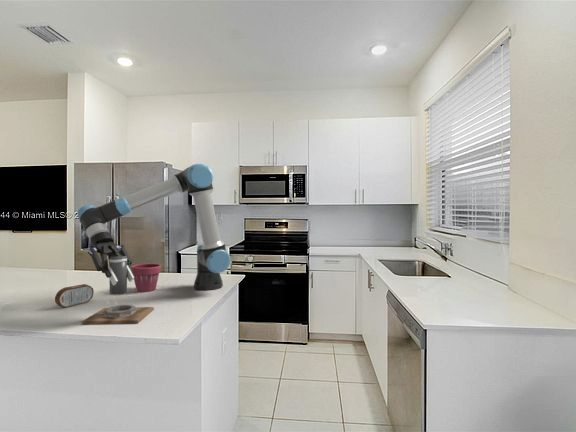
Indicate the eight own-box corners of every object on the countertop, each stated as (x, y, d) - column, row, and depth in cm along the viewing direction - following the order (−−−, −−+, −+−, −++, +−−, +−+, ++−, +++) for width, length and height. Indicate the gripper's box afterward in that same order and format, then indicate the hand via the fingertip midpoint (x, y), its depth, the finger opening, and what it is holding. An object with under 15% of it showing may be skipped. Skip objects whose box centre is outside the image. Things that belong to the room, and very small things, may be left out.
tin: (91, 300, 149) (90, 282, 149) (94, 301, 147) (94, 282, 147) (54, 309, 136) (54, 289, 135) (58, 310, 134) (58, 290, 134)
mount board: (153, 309, 134) (153, 302, 134) (137, 323, 118) (137, 314, 118) (104, 310, 133) (104, 302, 133) (81, 324, 117) (81, 315, 117)
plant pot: (166, 287, 174) (165, 263, 174) (152, 293, 160) (152, 268, 160) (140, 286, 175) (140, 263, 175) (125, 293, 161) (125, 267, 161)
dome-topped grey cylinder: (130, 290, 129) (129, 255, 128) (122, 294, 122) (122, 258, 122) (114, 290, 128) (113, 255, 128) (106, 294, 122) (105, 258, 122)
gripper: (118, 241, 141) (142, 282, 133) (71, 245, 125) (94, 292, 117) (125, 229, 138) (150, 271, 130) (78, 231, 122) (102, 279, 114)
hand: (123, 281), depth 123 cm, fingers closed on dome-topped grey cylinder, 6 cm apart
